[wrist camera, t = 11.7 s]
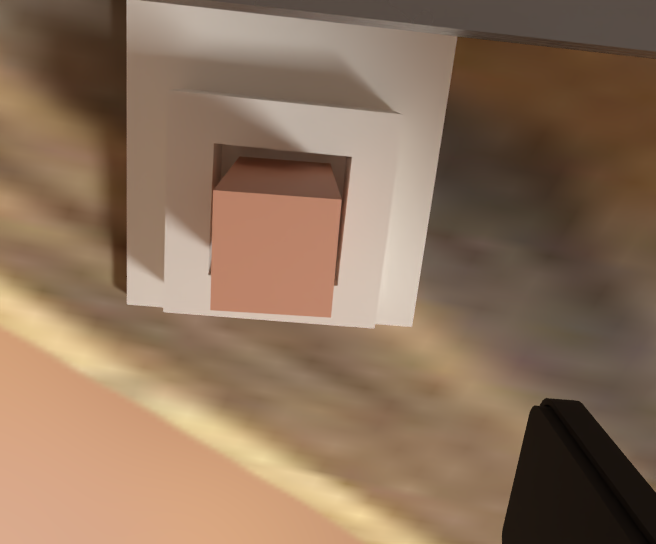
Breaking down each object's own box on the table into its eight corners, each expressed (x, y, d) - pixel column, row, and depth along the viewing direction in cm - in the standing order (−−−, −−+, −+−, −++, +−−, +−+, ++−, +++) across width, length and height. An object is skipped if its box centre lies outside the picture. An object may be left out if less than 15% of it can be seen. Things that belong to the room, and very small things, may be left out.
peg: (330, 163, 29) (341, 199, 21) (323, 250, 31) (330, 317, 22) (239, 156, 29) (213, 190, 20) (236, 244, 30) (210, 310, 22)
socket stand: (472, -91, 27) (499, -119, 23) (408, 319, 33) (422, 351, 29) (132, -135, 26) (103, -172, 22) (132, 297, 32) (109, 327, 28)
